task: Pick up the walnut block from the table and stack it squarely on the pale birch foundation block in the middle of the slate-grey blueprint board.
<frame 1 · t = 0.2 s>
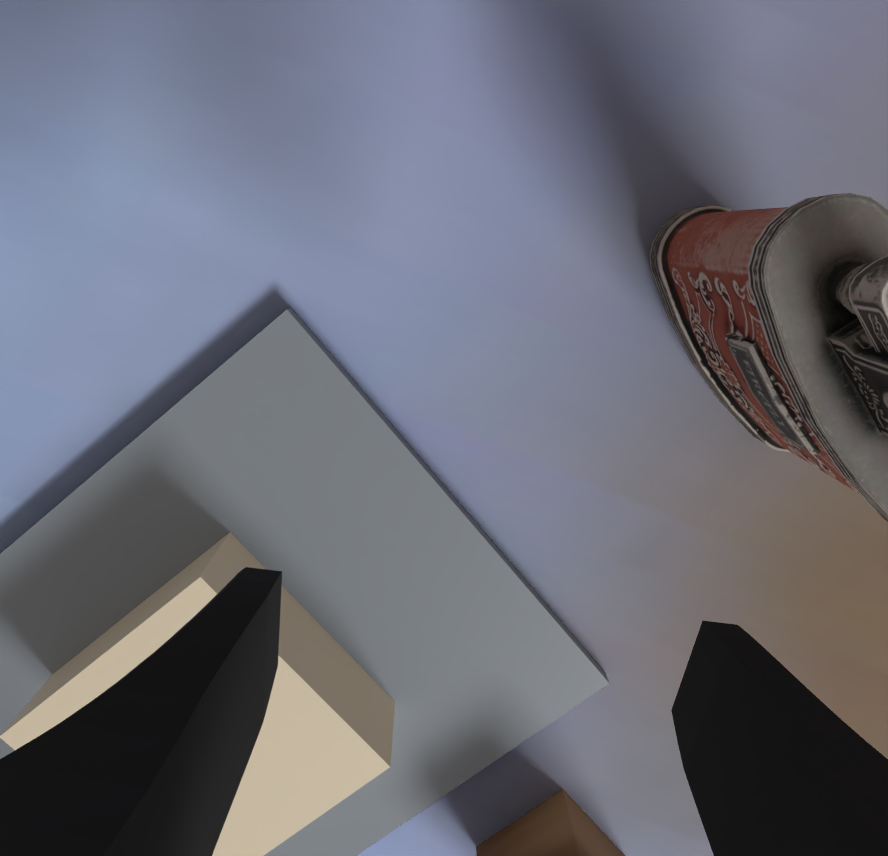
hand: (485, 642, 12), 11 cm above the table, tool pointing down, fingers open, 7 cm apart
lighter: (737, 329, 22), on the table
walnut block: (551, 851, 27), on the table
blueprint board: (230, 677, 24), on the table
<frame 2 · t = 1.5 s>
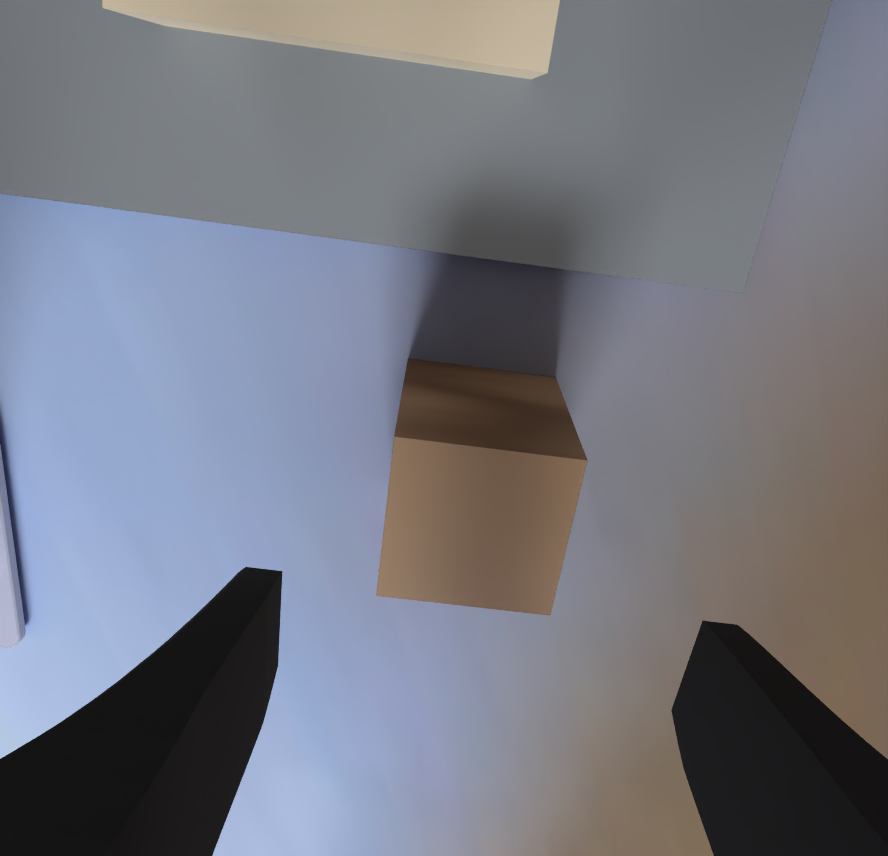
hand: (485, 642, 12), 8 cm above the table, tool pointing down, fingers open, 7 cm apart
walnut block: (471, 434, 20), on the table
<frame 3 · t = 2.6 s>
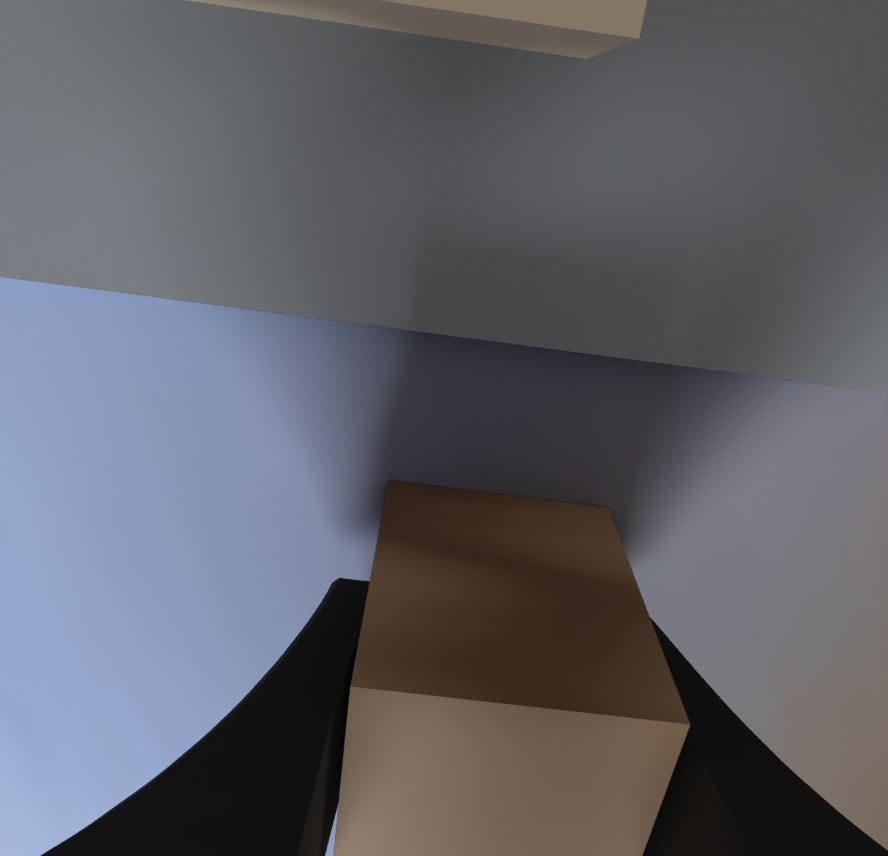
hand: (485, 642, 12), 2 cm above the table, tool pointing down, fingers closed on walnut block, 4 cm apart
walnut block: (482, 584, 14), on the table, touching gripper
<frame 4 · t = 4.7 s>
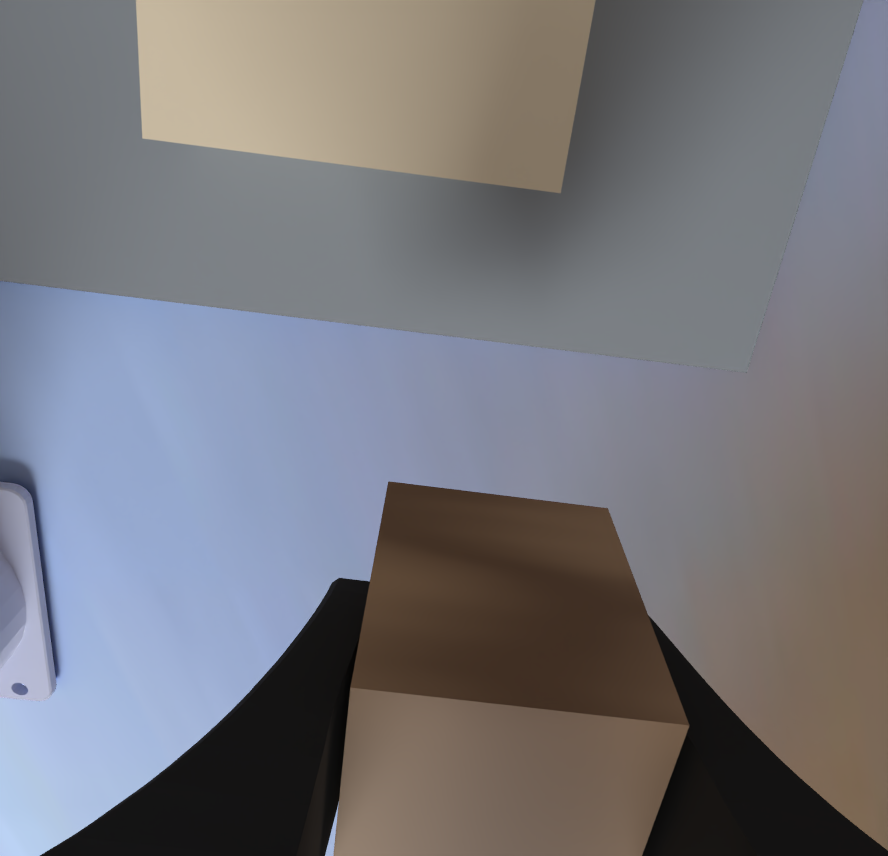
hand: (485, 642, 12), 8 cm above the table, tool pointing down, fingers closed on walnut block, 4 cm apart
walnut block: (482, 585, 14), point 7 cm above the table, touching gripper
when the fingers open (6 cm above the table, at t = 6.6 s): walnut block stays where it is, resting on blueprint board.
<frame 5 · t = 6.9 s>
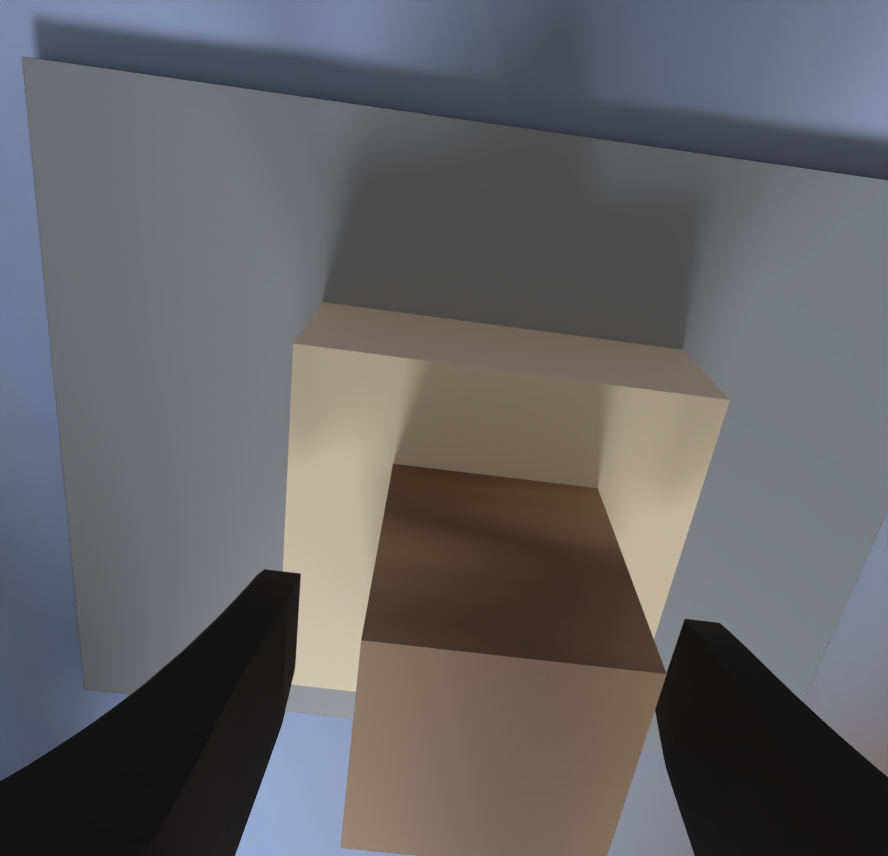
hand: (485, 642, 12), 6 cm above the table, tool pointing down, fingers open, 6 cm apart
walnut block: (480, 561, 15), point 4 cm above the table, touching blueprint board
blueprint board: (476, 473, 18), on the table
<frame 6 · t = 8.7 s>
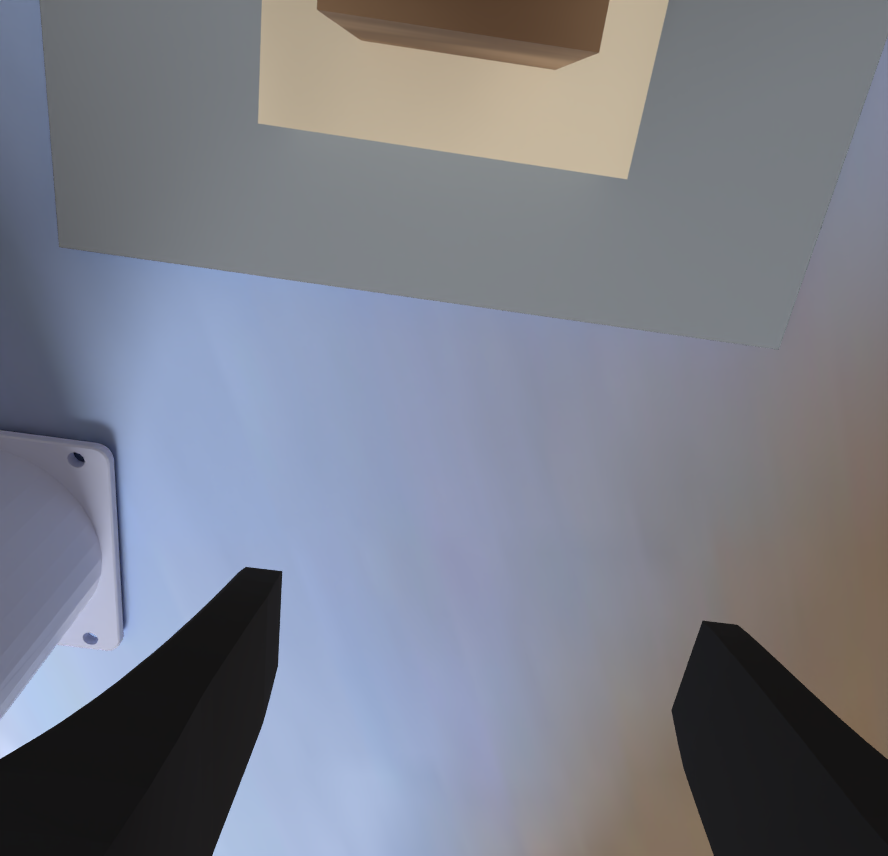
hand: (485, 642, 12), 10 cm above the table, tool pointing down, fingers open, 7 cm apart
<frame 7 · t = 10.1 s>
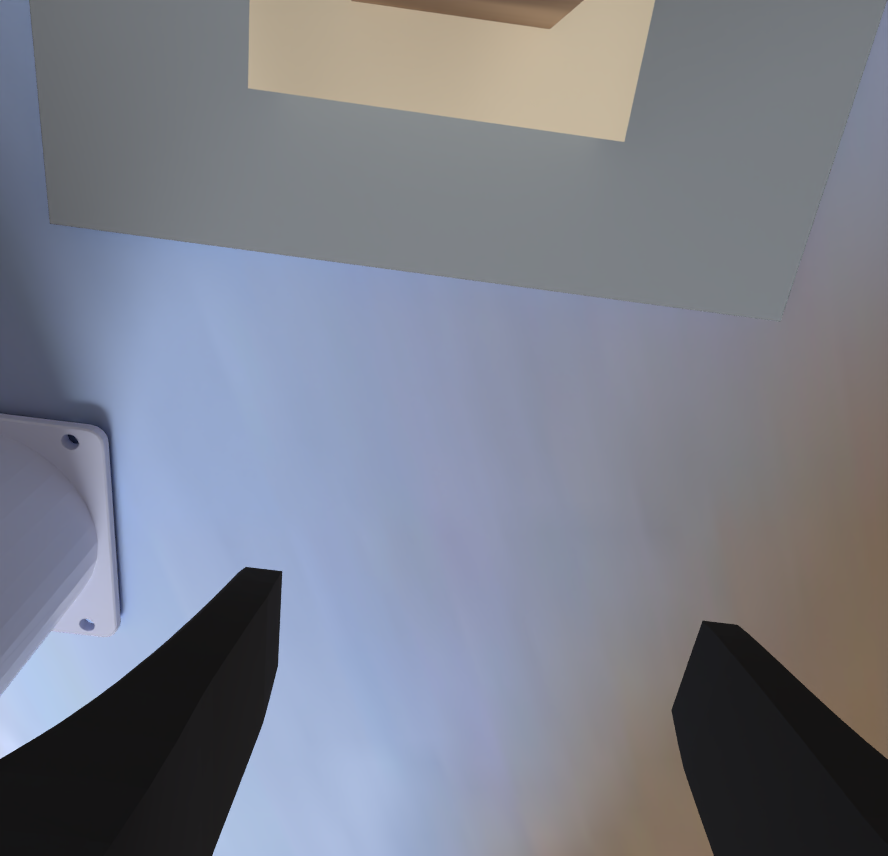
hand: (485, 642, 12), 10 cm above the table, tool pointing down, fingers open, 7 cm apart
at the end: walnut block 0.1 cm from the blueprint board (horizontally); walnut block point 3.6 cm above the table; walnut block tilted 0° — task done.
